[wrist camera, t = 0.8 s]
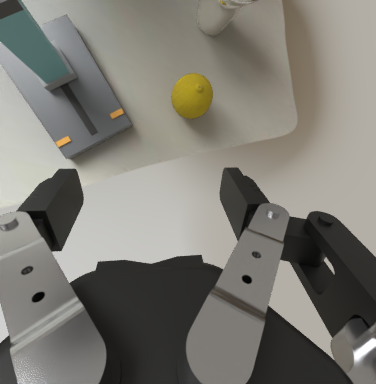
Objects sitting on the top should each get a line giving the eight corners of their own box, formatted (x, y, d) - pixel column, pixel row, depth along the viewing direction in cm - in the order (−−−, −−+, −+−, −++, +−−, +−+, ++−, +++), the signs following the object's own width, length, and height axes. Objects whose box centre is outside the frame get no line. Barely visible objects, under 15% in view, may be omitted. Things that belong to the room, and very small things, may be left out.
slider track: (-1, 55, 27) (-12, 46, 25) (71, 24, 29) (66, 13, 27) (70, 158, 31) (65, 158, 29) (131, 126, 32) (131, 123, 30)
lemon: (202, 88, 34) (222, 66, 26) (201, 124, 35) (220, 112, 27) (168, 84, 33) (177, 59, 25) (167, 121, 33) (177, 109, 26)
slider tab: (28, 60, 26) (-81, -45, 13) (58, 46, 27) (-17, -68, 14) (48, 91, 27) (-34, 21, 14) (77, 77, 28) (24, -2, 15)
